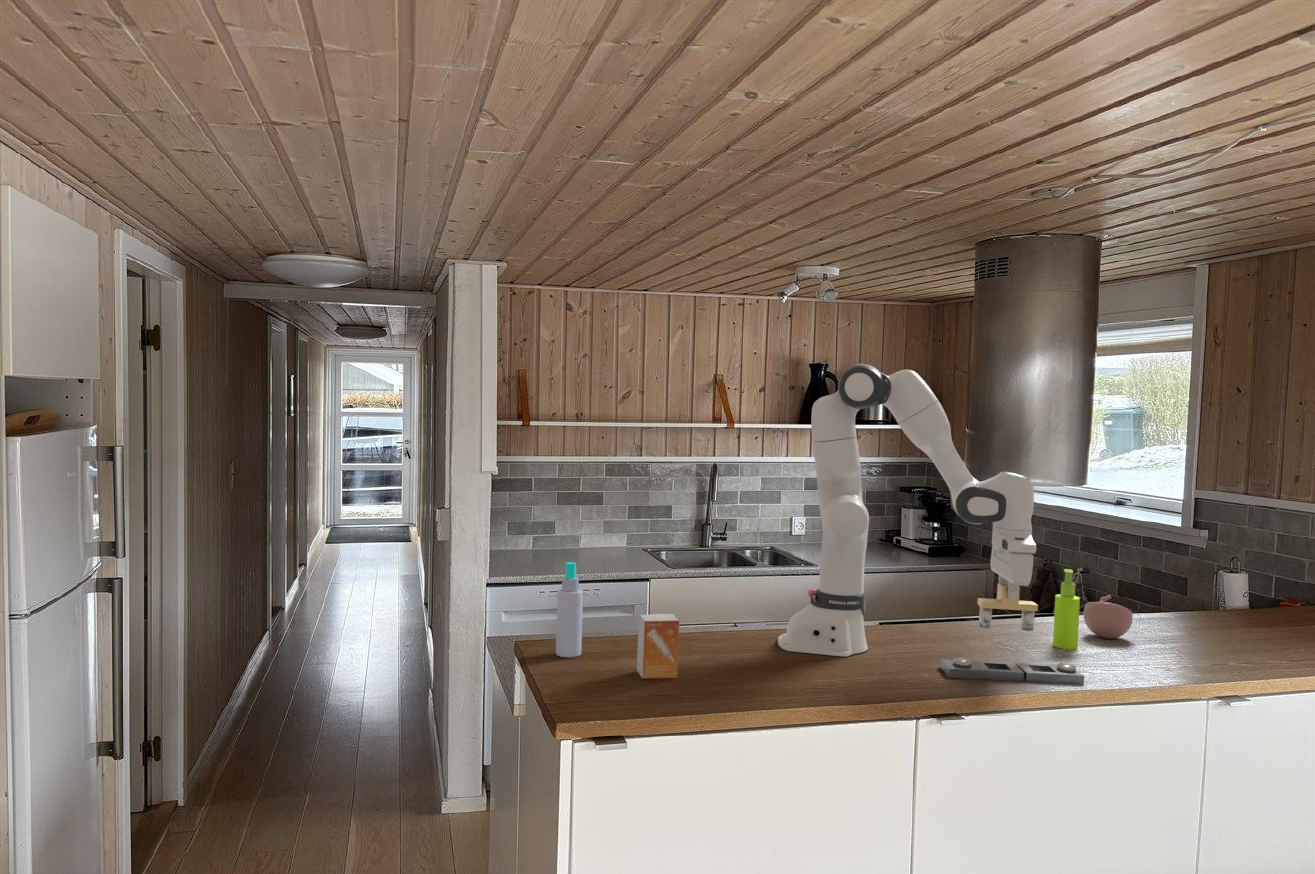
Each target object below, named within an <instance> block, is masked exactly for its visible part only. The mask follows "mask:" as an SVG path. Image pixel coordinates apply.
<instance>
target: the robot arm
mask: <svg viewBox="0 0 1315 874" xmlns="http://www.w3.org/2000/svg"><path fill="white" fill-rule="evenodd" d="M880 405H883V406H884V407H886V408H887V409H888V411H889V412H890V413H891V415H892V416H893V418H894V419H895V421H896V423H897V424H898V426H899V427H900V429H901V430H902V432H903V433H904V434H905V436H906V437H907V438H908V439H909V440H910V441H911V443H913V445H914V446H915V447H916V448H918V449H919V450H920V451H922V452H923V453H924V454H926V455H927V457H928V458H930V461H932V462H933V464H934V465H935V468H936V469H937V471H938V472H939V474H940V475H941V477H942V478H943V480H944V482H945V483H946V486H947V488H948V490H949V500H950V505H951V508H952V510H953V511H954V513H955V514H956V515H957V516H959V518H961V520H963V521H964V522H965V523H967V524H971V525H982V524H989V523H992V535H991V545H992V546H991V547H992V548H991V554H990V565H989V566H990V570H991V571H992V572H994V573H996V574H997V575H998V583H1007V584H1008V585H1009V589H1008V591H1007V598H1008V599H1009V600H1015V599H1016V593H1017V591H1018V588H1019V587H1020V586H1021V587H1022V586H1023V587H1027V586H1029V585H1030V584H1031V582H1032V581H1031V580H1032V575H1033V569H1034V568H1033V567H1034V555H1033V554H1036V553H1037V544H1036V543H1035V541H1034V538H1033V525H1032V517H1033V513H1034V507H1035V506H1034V505H1035V501H1034V499H1035V494H1034V493H1035V492H1034V491H1035V490H1034V485H1033V481H1031V479H1030V478H1028V477H1027V476H1025V475H1022V474H1018V473H1015V472H1011V471H1000V472H999V473H998V474H997V475H994V476H993V477H990V478H987V479H985V480H982V481H980V480H979V479H976V478H975V477H974V476H973V474H971V472H970V471H969V469H968V468H967V466H966V465H965V462H964V461H963V460H962V458H961V456H960V454H958V452H957V449H956V447H955V446H954V443H953V439H952V433H951V425H950V421H949V419H948V416H947V414H946V412H945V410H944V408H943V406H942V404H941V403H940V401H939V399H938V398H937V396H936V394H935V393H934V391H932V389H931V387H930V386H929V385H928V384H927V382H926V381H925V380H924V379H923V378H922V377H921V376H920V375H919V374H918V373H917V372H915V371H914V370H911V369H902V370H901V369H900V370H898V371H896V372H893V373H892V374H890V375H887V374H884V373H883V372H880V370H879V369H878V368H876V367H875V366H873V365H871V364H869V363H868V364H867V363H856V364H854V365H851V366H849V367H848V368H847V369H845V370H844V371H843V372H842V374H841V375H840V376H839V379H838V383H837V391H836V392H834V393H833V394H829V395H825V396H822V397H819V398H818V399H817V400H815V402H814V403H813V405H812V408H811V422H810V423H811V425H810V427H811V429H810V430H811V438H812V439H811V440H812V447H813V457H814V467H815V471H816V472H815V473H816V474H815V475H816V484H817V492H818V501H819V503H818V504H819V512H820V519H821V521H822V534H821V536H822V538H821V549H820V558H819V585H818V589H814V588H809V589H807V590H808V591H807V595H808V597H809V598H810V599H809V600H810V604H809V605H807V606H806V607H804V608H803V609H802V610H801V609H800V611H798V612H796V613H795V614H794V615H792V616H791V617H790V620H789V621H788V624H787V629H786V633H782V634H781V635H779V636H778V638H777V645H778V646H779V647H780V649H783V651H784V650H785V651H786V652H792V653H793V652H795V653H804V654H806V653H807V654H815V655H826V656H834V657H844V658H845V657H846V658H847V657H849V656H852V655H855V654H861V653H864V652H866V651H867V650H868V649H869V647H868V644H867V643H868V642H867V638H866V633H865V632H866V631H865V624H864V623H865V621H864V615H865V612H866V594H865V592H864V590H865V589H864V586H865V585H864V584H865V583H864V582H865V561H866V554H867V546H868V537H869V525H870V524H869V523H870V515H869V511H868V509H867V507H866V505H865V504H864V500H863V488H862V475H861V473H862V471H861V470H862V468H861V459H860V454H859V452H860V451H859V444H858V437H857V430H856V429H857V428H856V416H857V413H858V412H859V411H861V410H862V409H864V410H865V409H869V408H871V407H872V408H873V407H877V406H880Z"/></svg>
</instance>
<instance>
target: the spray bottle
mask: <svg viewBox="0 0 1315 874" xmlns="http://www.w3.org/2000/svg"><path fill="white" fill-rule="evenodd" d="M564 572H565V573H564V576H563V577H562V580H561V581H562V582H561V588H559V589H558V590H557V593H556V595H557V597H556V625H555V626H556V632H555V636H556V639H555V654H556V656H558V657H561V658H565V659H573V658H577V657H580V656H581V655H582V640H583V639H582V637H583V602H584V601H583V599H584V597H583V596H584V595H583V594H584V591H583V589H581V588H580V582H579V581H580V580H579V577H578V576H577V563H576V562H575V561H568V562H565V571H564Z"/></svg>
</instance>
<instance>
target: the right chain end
mask: <svg viewBox="0 0 1315 874" xmlns="http://www.w3.org/2000/svg"><path fill="white" fill-rule="evenodd" d="M1014 664H1015V665H1016V666H1017V667H1018V668H1019V669H1020V670H1022V671H1023V672H1024V680H1023V681H1025V682H1030V683H1048V684H1049V683H1051V684H1069V685H1070V684H1072V685H1085V675H1084V674H1083V673H1081V672H1080V671H1079V670H1078V669H1077V665H1075V664H1072V663H1067V662H1059V663H1056V664H1048V663H1030V662H1029V663H1028V662H1027V663H1026V662H1015V663H1014Z"/></svg>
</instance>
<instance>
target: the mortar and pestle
mask: <svg viewBox="0 0 1315 874" xmlns="http://www.w3.org/2000/svg"><path fill="white" fill-rule="evenodd" d="M1111 599H1112V595H1106V596H1102V597H1100V598H1099V601H1088V602H1087V603H1085V605H1084V608H1083V621H1084V623H1085V625H1086V627H1087V628H1088V629H1089V631H1090V632H1091V633H1092V634H1093V635H1095V636H1098V637H1100V638H1103V639H1111V640H1112V639H1118V638H1120V637H1122V636H1124V635H1125V634H1127V632H1128V631H1129V630H1130V629H1131V626H1132V624H1133V617H1134V615H1133V612H1132V611H1131V610H1130V609H1129V608H1127V607H1125V606H1122V605H1120V604H1117V603H1112V602H1106V601H1109V600H1111Z"/></svg>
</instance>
